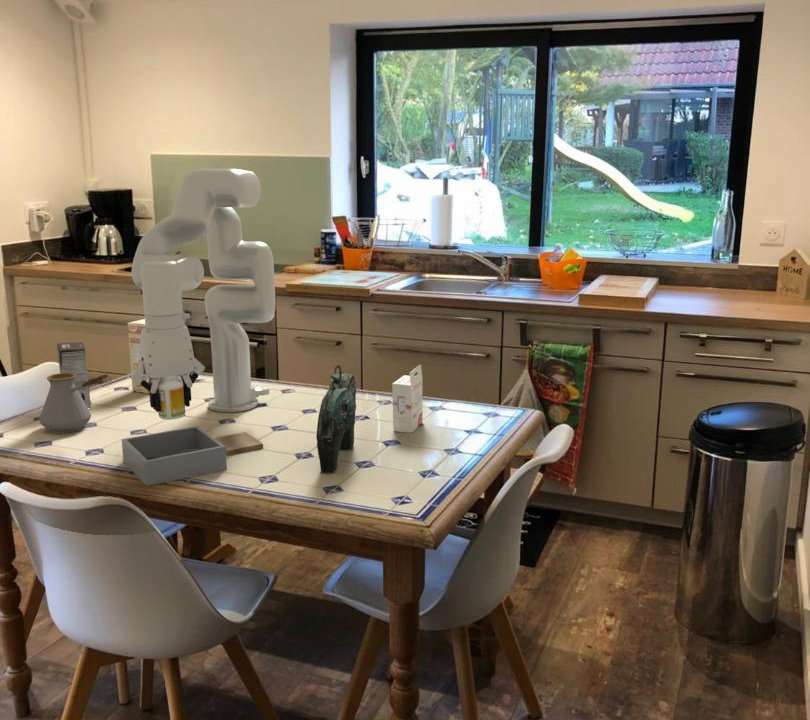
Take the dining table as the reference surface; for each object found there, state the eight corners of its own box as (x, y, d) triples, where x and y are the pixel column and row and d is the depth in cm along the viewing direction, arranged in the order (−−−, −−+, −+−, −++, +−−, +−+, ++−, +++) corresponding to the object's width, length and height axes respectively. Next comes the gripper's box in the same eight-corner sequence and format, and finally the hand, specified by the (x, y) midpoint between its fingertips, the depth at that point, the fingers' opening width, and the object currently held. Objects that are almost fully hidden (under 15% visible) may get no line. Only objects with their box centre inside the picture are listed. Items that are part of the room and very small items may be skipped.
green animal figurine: (336, 442, 191) (334, 356, 186) (364, 444, 190) (362, 357, 185) (311, 473, 172) (309, 378, 167) (342, 475, 171) (340, 380, 166)
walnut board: (245, 436, 196) (245, 432, 195) (263, 448, 187) (262, 443, 187) (203, 443, 190) (203, 439, 190) (220, 456, 182) (219, 452, 182)
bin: (199, 447, 188) (197, 425, 187) (226, 469, 174) (225, 446, 173) (123, 461, 179) (121, 439, 178) (146, 486, 166) (144, 462, 165)
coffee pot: (29, 431, 200) (23, 369, 196) (69, 418, 210) (63, 359, 206) (93, 445, 190) (87, 380, 186) (132, 431, 200) (127, 369, 196)
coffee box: (62, 402, 223) (56, 343, 220) (88, 400, 226) (82, 340, 222) (64, 411, 215) (58, 350, 212) (91, 408, 218) (85, 347, 214)
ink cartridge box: (403, 421, 207) (403, 362, 203) (423, 423, 205) (423, 363, 202) (391, 431, 199) (391, 370, 195) (411, 433, 197) (411, 372, 194)
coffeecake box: (151, 394, 231) (146, 324, 226) (131, 391, 234) (125, 322, 229) (187, 381, 244) (182, 315, 240) (167, 379, 247) (162, 313, 243)
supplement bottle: (188, 411, 178) (184, 367, 175) (182, 420, 173) (178, 374, 170) (162, 412, 178) (158, 367, 175) (155, 420, 172) (151, 374, 170)
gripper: (199, 313, 178) (205, 396, 182) (116, 323, 169) (124, 410, 173) (212, 319, 171) (217, 405, 176) (126, 330, 162) (134, 419, 167)
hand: (171, 406), depth 175 cm, fingers closed on supplement bottle, 5 cm apart
